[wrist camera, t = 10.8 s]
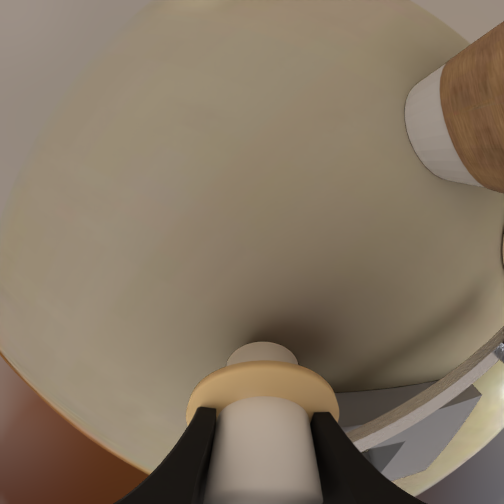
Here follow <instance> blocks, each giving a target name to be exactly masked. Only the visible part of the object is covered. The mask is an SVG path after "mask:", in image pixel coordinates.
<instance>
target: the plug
mask: <svg viewBox="0 0 504 504" xmlns="http://www.w3.org/2000/svg"><path fill="white" fill-rule="evenodd" d="M200 406H201V407H209V408H216V428H215V434H214V440H213V445H212V451H211V457H210V463H209V469H208V475H207V481H206V488H205V494H204V500H203V504H322V503H323V495H322V489H321V483H320V477H319V472H318V466H317V460H316V454H315V449H314V443H313V438H312V432H311V427H310V422H311V420H312V417H313V414H314V412H330V413H331V414H332V416H333V417H334V419H335V420H336V421H337V423H338V419H339V407H338V403H337V400H336V397H335V394H334V391H333V389H332V387H331V386H330V385H329V383H328V382H327V381H326V380H325V379H324V378H323V377H322V376H320V375H319V374H317V373H316V372H314V371H312V370H310V369H308V368H305V367H302V366H300V365H298V362H297V359H296V357H295V356H294V354H293V353H292V352H291V351H290V350H288V349H287V348H285V347H283V346H282V345H279V344H276V343H272V342H254V343H250V344H247V345H244V346H242V347H240V348H238V349H237V350H236V351H234V352H233V353H232V354H231V356H230V357H229V359H228V361H227V363H226V367H223V368H221V369H219V370H217V371H215V372H212V373H211V374H209V375H208V376H206V377H205V378H204V379H203V380H201V381H200V382H199V383H198V385H197V386H196V387H195V388H194V390H193V392H192V394H191V397H190V400H189V403H188V407H187V410H186V420H187V424H188V425H189V424H190V422H191V420H192V418H193V416H194V414H195V412H196V410H197V408H198V407H200Z"/></svg>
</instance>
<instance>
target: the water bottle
mask: <svg viewBox="0 0 504 504" xmlns="http://www.w3.org/2000/svg"><path fill="white" fill-rule="evenodd" d="M502 254H503V264H504V236H503V247H502Z"/></svg>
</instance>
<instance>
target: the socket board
mask: <svg viewBox="0 0 504 504" xmlns="http://www.w3.org/2000/svg"><path fill="white" fill-rule="evenodd" d="M438 381H439V380H438ZM438 381H433V382H428V383H422V384H416V385H410V386H404V387H397V388H389V389H381V390H371V391H360V392H346V393H334V394H335V397H336V400H337V403H338V407H339V419H338V424H339V426H340V427H341V428H342V430H343V431H344V432H345V433H347V432H349V431H351V430H353V429H356V428H358V427H360V426H362V425H364V424H366V423H368V422H370V421H372V420H374V419H376V418H378V417H380V416H382V415H384V414H386V413H387V412H389V411H391V410H393V409H395V408H396V407H398V406H400V405H402V404H403V403H405V402H407V401H408V400H410V399H412V398H413V397H415V396H416V395H418V394H420V393H421V392H423V391H424V390H426V389H427V388H429V387H430V386H432V385H433V384H435V383H436V382H438ZM481 396H482V394H481V393H480V392H479V391H478V390H477V389H476V388H475V387H474V385H473V384H471V385H470V386H469V387H468V388H466V389H465V390H464V391H462V392H461V393H460V394H459V395H457V396H456V397H455V398H453V399H452V400H450V401H449V402H448V403H446V404H445V405H443V406H442V407H441V408H439V409H438V410H436V411H435V412H433V413H432V414H430V415H429V416H427V417H425V418H424V419H422V420H421V421H419V422H417V423H416V424H414V425H412V426H411V427H409V428H407V429H406V430H404V431H402V432H400V433H398V434H397V435H395V436H393V437H391V438H389V439H387V440H385V441H383V442H381V443H379V444H377V445H375V446H373V447H371V448H369V449H370V450H369V451H368V452H365V453H362V454H363V455H364V456H365V458H366V459H367V460H368V461H369V462H370V463H371V464H372V465H373V466H374V467H375V468H376V469H377V470H378V471H379V472H380V473H382V474H383V475H384V476H385V477H386V478H387V479H389V480H390V481H393V480H396V479H400V478H403V477H406V476H409V475H413V474H415V473H418V472H421V471H424V470H426V469H427V468H428V467H429V466H430V464H431V463H432V462H433V461H434V460H435V459H436V458H437V457H438V455H439V454H440V453H441V452H442V451H443V449H444V448H445V447H446V446H447V445H448V443H449V442H450V441H451V439H452V438H453V437H454V436H455V434H456V433H457V432H458V430H459V429H460V427H461V426H462V425H463V423H464V422H465V420H466V419H467V418H468V416H469V415H470V413H471V412H472V410H473V409H474V407H475V405H476V404H477V402H478V401H479V399H480V397H481Z"/></svg>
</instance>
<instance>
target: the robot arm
mask: <svg viewBox="0 0 504 504" xmlns="http://www.w3.org/2000/svg"><path fill="white" fill-rule="evenodd" d="M310 427H311V432H312V438H313V443H314V449H315V454H316V460H317V466H318V472H319V477H320V483H321V489H322V495H323V503H322V504H426V503H424V502H422V501H420V500H419V499H417V498H415V497H413V496H412V495H410V494H408V493H407V492H405V491H404V490H402V489H401V488H399V487H398V486H396V485H395V484H394V483H392V482H391V481H390V480H389V479H387V478H386V477H385V476H384V475H383V474H382V473H380V472H379V471H378V470H377V469H376V468H375V467H374V466H373V465H372V464H371V463H370V462H369V461H368V460H367V459H366V458H365V456H364V455H363V454H362V453H361V452H360V451H359V450H358V448H357V447H356V446H355V445H354V444H353V443H352V441H351V440H350V439H349V437H348V436H347V435H346V434H345V432H344V431H343V430H342V428H341V427H340V426H339V424H338V423H337V421H336V420H335V419H334V417H333V416H332V414H331V413H330V412H314V414H313V417H312V420H311V422H310ZM215 428H216V408H209V407H201V406H200V407H198V408H197V410H196V412H195V414H194V416H193V418H192V420H191V422H190V424H189V425H188V427H187V429H186V430H185V432H184V433H183V435H182V436H181V438H180V439H179V441H178V442H177V443H176V445H175V446H174V448H173V449H172V450H171V451H170V453H169V454H168V455H167V456H166V458H165V459H164V460H163V461H162V462H161V464H160V465H159V466H158V467H157V468H156V469H155V470H154V471H153V472H152V473H151V474H150V475H149V476H148V477H147V478H146V479H145V480H144V481H143V482H142V483H140V484H139V485H138V486H137V487H136V488H135V489H133V490H132V491H131V492H130V493H128V494H127V495H126V496H124V497H123V498H122V499H120V500H118V501H117V502H115V503H114V504H203V500H204V494H205V488H206V481H207V475H208V469H209V463H210V457H211V451H212V445H213V440H214V434H215Z"/></svg>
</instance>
